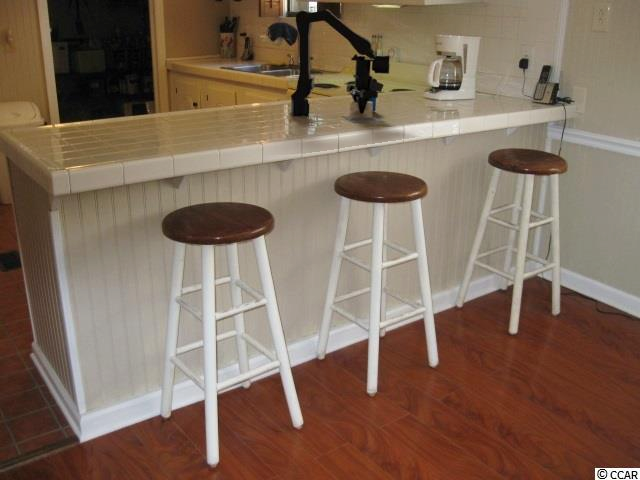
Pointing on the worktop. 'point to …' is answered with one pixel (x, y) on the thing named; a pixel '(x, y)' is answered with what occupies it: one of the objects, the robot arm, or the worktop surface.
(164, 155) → the worktop surface
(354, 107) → the rectangular block
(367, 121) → the mat
